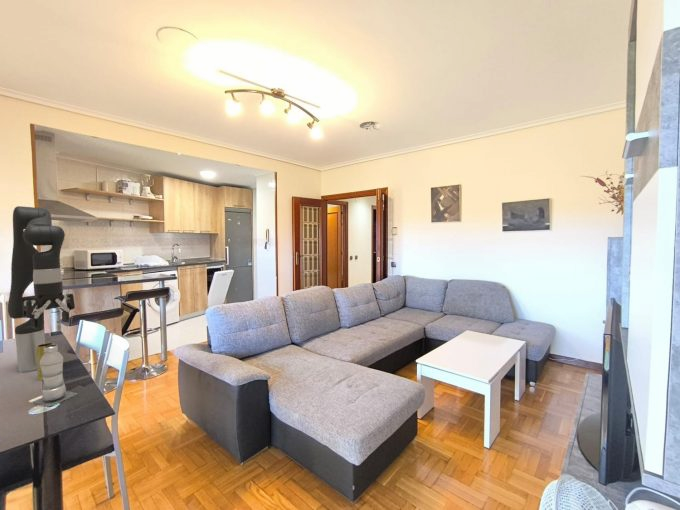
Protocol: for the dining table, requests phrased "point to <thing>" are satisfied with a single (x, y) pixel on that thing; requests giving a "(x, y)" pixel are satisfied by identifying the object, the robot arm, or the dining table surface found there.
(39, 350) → the vase
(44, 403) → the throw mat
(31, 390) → the dining table surface
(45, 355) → the plastic bottle
